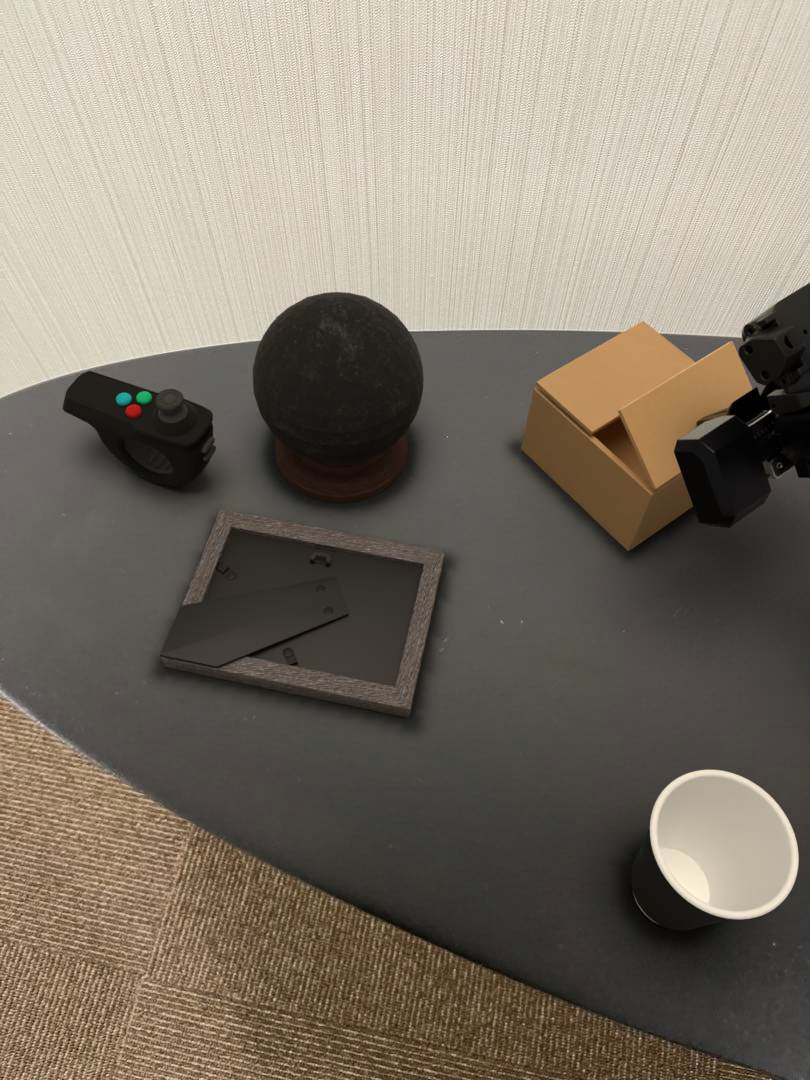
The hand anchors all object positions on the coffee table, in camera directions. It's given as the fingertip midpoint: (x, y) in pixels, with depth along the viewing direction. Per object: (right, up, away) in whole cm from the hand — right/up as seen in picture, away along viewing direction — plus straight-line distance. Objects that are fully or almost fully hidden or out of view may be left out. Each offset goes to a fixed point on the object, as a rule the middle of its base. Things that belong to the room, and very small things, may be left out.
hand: (701, 425), depth 67 cm
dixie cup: (-5, -31, -9) cm, 32 cm away
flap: (-1, +1, 0) cm, 1 cm away
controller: (-43, -3, +9) cm, 44 cm away
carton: (-3, -2, +10) cm, 11 cm away
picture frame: (-29, -14, +1) cm, 32 cm away
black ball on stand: (-27, -1, +10) cm, 29 cm away
